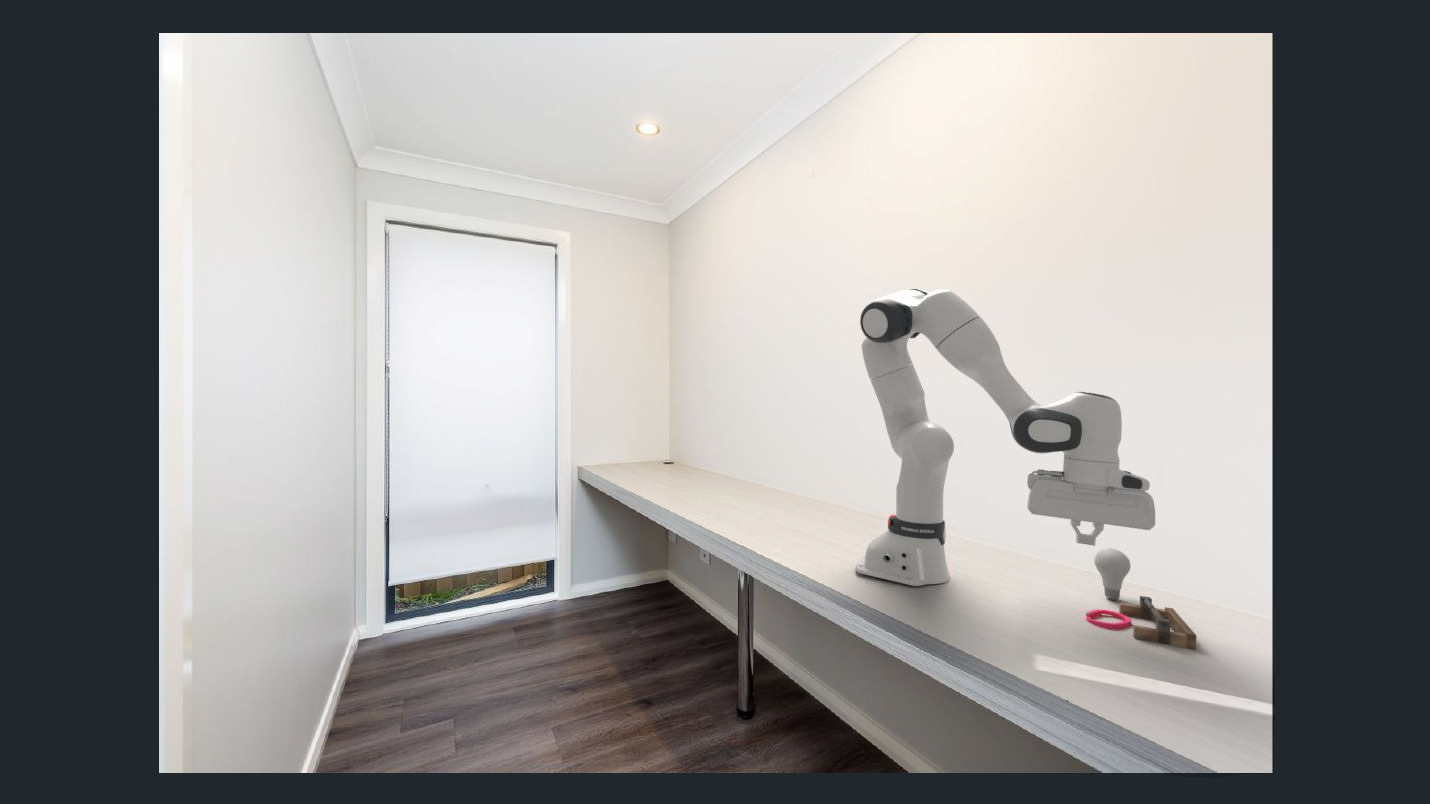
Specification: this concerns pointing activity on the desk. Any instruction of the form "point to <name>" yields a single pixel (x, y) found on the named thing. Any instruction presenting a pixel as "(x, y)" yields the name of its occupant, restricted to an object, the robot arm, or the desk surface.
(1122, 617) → the fitness band
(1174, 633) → the wooden bar clamp
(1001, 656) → the desk surface
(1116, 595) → the lightbulb
